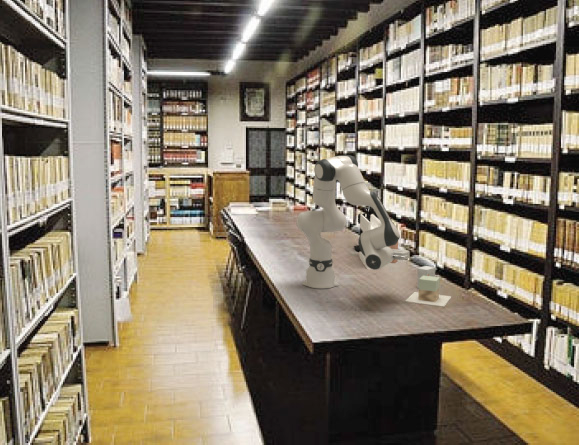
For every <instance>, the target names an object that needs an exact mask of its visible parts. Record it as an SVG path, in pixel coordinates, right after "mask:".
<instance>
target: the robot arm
mask: <svg viewBox="0 0 579 445" xmlns="http://www.w3.org/2000/svg"><path fill="white" fill-rule="evenodd" d="M313 169H314V170H313V172H314V178H313V188H312V202H313V203H314V204H315V205H317V206H318V207H320V208H322V210H307V211H302V212H300V213H299V214H298V215H297V218H296V226H297V229H298V230H299V231H300V232H302V233H303V234H304V235H305V237H306V238H307V240H308V243H309V252H310V253H309V254H310V255H309V257H310V258H309V260H308V267H307V269H306V271H305V274H306V275H305V280H304V281H302V285H303V286H305V287H306V286H307V287H309V288H313V289H330V288H334V287H339V285H340V284H339V282H338V281H337V280H336V270H335V269H334V267H333V262H334V261H333V258H332V256H333V255H332V252H333V251H332V250H333V248H332V247H333V246H332V243H331V242H330V241H329V240H328V239H325V238H324V237H322V236H321V233H336V232H340V231H344V229H345V228H346V226H347V218H346V217H347V216H346V215H345V213H343V212H342V211H341V210H340V209H339V208H338V206H337V204H336V186H337V185H336V184H337V181H338V182H339V184H340V188H341V191H342V194H343V197H344V199H345V201H346V202H347V203H349V204H350V205H353V206H361V207H362V206H363V207H365V206H370V207H372V208H373V209H374V213H375V212H376V214H377V216H378V218H379V220H380V221H381V223H382V225H381V226H380V227H377V228H374V229H371V230H368V231H365V232H363V233H361V234H360V233H359V237H358V241H357V243H358V244H357V245H359V248H360V250H361V252H362V254H363V255H364V256H365V262H366V265H367V266H368V267H369V268H370V269H369V270H374V271H375V270H376V271H377V270H382V269H383V268H384V267H386V266H389V265H390V264H391V263H390V262H392V260H393V259H396V260H398V261H404V260H409V259H410V257H411V256H410V255H411V254H410V250H406V249H399V248H398V249H391V248H390V247H389V246H393V245H396V244H397V242H398V243H399V240H400V237H401V235H400V232H399V230H398V228H397V226H396V225H395V224H394V222H393V220H392V219H391V217H390V215H389V213H388V211H387V209H386V207H385V205H384V203H383V201H382V200H381V199H380V197H379V195H378V194H377V193H376V192H375V191H373V190H370V189H369V188H368V187H367V185H366V181H365V179H364V177H363V175H362V172H361V171H360V168H359V163H358V160H357V159H356V157H355V156H353V155H350V154H349V155H348V154H347V155H336V156H333V157H332V156H331V157H328V158H322V159H320V160H317V161H316V163H315V164H314V168H313Z"/></svg>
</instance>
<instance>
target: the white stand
mask: <svg viewBox="0 0 579 445" xmlns="http://www.w3.org/2000/svg"><path fill="white" fill-rule="evenodd" d="M359 214H360V216H361V217H360V224H359V229H360V228H361V229H362V231H363V232H365V231H368V230H371V229H374V228H377V227H380V226H381V225H382V223H381V221H380V220H379V219H378V218H377V217H376V216H375V214H372V213H370V216H371V217H370V222H369V221H368V220H367V219H366V218H365V217H366V216H365V217H364V216H363V215H362V214H363V213H359ZM358 252H359V251H358ZM358 255H359V256H358V257H359V259H360V260H361V263H363V266H365V268H366V270H371V269H370V268H369V267H368V266H367V265H366V262H365V256H364V255H363V254H362V252H359V254H358Z"/></svg>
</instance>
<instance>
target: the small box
mask: <svg viewBox="0 0 579 445" xmlns="http://www.w3.org/2000/svg"><path fill="white" fill-rule="evenodd" d="M435 275H436V267H434V266H429V265H428V266H427V265H423V266H421V267H418V268H417V275H416V277H417V278H416V280H417V282H416V288H417V289H419V279H420V278H421V277H422V276H432V277H436V276H435Z"/></svg>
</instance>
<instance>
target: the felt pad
mask: <svg viewBox="0 0 579 445" xmlns="http://www.w3.org/2000/svg"><path fill="white" fill-rule="evenodd" d="M418 296H419V291H414V292H413V293H412V294H411V295H410V296H409V297H408V298H407V299H405V301H404V302H406V303H411V304H420V305H427V306H431V307H433V306H434V307H440V308H441V307H442V308H445V307H446V305H447V304H448V303H449V302H450V300H451V298H452V296H450V295H445V294H444V295H443V294H439V298H438V299H437V301H436V302H432V301H424V300H418Z"/></svg>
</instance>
